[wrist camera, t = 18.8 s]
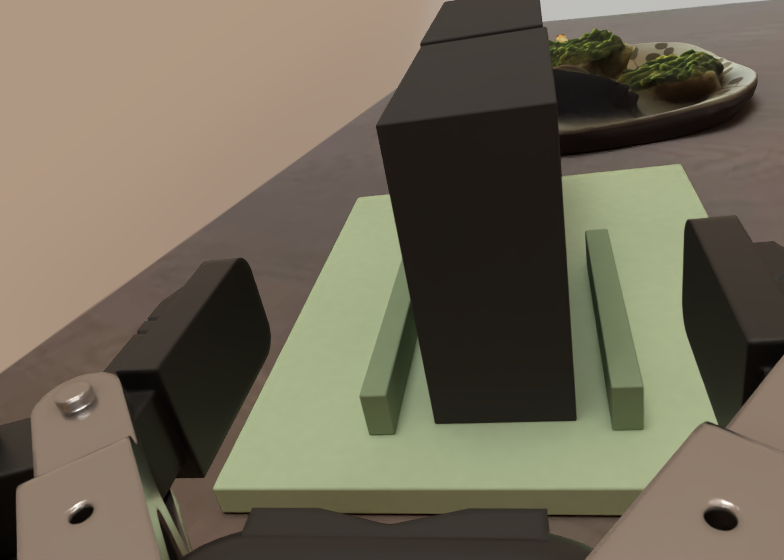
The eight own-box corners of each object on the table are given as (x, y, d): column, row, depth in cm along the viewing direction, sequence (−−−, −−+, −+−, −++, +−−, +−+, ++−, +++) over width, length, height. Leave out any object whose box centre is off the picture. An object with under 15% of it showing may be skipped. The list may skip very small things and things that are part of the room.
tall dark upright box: (434, 424, 20) (375, 124, 15) (457, 282, 26) (420, 45, 22) (576, 421, 19) (557, 100, 14) (563, 274, 26) (546, 26, 21)
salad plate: (443, 90, 55) (434, 31, 53) (667, 49, 54) (668, -14, 51) (466, 176, 38) (455, 95, 36) (794, 119, 37) (804, 31, 35)
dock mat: (221, 513, 20) (82, 195, 15) (361, 214, 36) (318, 19, 32) (846, 518, 16) (936, 96, 11) (680, 182, 33) (687, -43, 28)
